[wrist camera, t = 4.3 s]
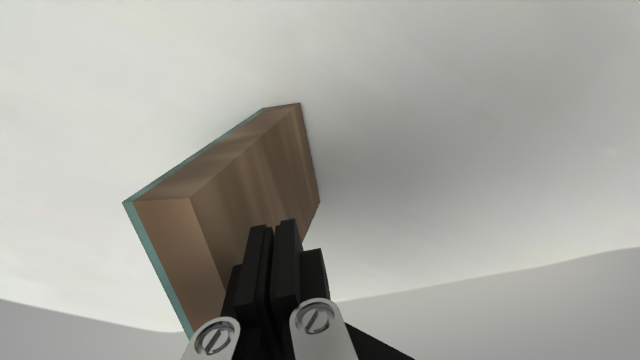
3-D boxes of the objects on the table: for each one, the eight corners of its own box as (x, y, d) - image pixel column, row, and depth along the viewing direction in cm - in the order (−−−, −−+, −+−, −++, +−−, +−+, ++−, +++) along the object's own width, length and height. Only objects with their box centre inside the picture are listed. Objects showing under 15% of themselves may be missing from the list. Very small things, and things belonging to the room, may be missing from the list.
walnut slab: (299, 103, 20) (189, 198, 10) (320, 202, 23) (251, 358, 13) (262, 108, 21) (121, 202, 10) (286, 203, 24) (195, 353, 13)
